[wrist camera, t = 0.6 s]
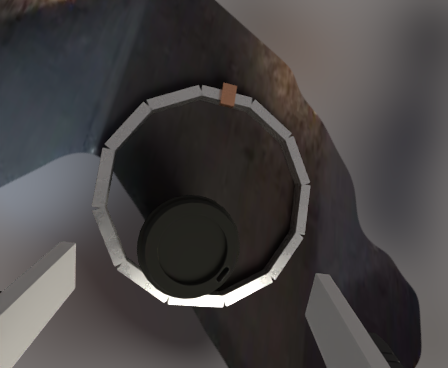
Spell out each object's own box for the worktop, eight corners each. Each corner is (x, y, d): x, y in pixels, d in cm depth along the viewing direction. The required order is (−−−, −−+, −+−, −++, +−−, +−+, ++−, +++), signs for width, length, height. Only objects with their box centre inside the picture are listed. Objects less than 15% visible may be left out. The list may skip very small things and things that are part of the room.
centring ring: (120, 64, 39) (118, 54, 37) (312, 113, 47) (322, 108, 44) (78, 293, 37) (72, 301, 34) (288, 306, 44) (298, 313, 42)
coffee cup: (173, 181, 40) (189, 172, 26) (223, 226, 42) (265, 241, 28) (123, 236, 38) (110, 259, 24) (178, 281, 40) (198, 328, 26)
